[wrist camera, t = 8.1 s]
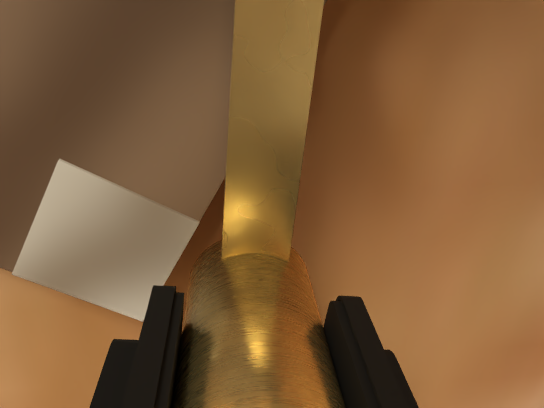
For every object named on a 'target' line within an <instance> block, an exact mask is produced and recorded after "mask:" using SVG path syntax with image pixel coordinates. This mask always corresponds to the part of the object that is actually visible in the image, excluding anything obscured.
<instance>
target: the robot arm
mask: <svg viewBox="0 0 544 408" xmlns="http://www.w3.org/2000/svg"><path fill="white" fill-rule="evenodd" d="M183 304H184V293H177V292H176V286H158V285H153V288H152V291H151V295H150V299H149V303H148V307H147V311H146V314H145V318H144V322H143V326H142V330H141V334H140V338H139V340H122V339H114V340H113V341H112V343H111V345H110V348H109V351H108V354H107V357H106V360H105V363H104V366H103V369H102V372H101V375H100V378H99V381H98V384H97V387H96V390H95V393H94V396H93V399H92V402H91V405H90V408H172V403H173V396H174V388H175V381H176V374H177V366H178V359H179V352H180V344H181V337H182V321H183ZM323 329H324V332H325V336H326V340H327V343H328V347H329V350H330V354H331V358H332V361H333V365H334V368H335V372H336V375H337V379H338V383H339V386H340V390H341V393H342V397H343V401H344V404H345V408H419V407H418V405H417V403H416V401H415V398H414V396H413V394H412V392H411V390H410V387H409V385H408V383H407V381H406V379H405V376H404V374H403V372H402V370H401V368H400V365H399V363H398V361H397V359H396V357H395V355H394V354H393V352H392V351H390V350H384V349H383V347H382V344H381V342H380V340H379V337H378V335H377V333H376V330H375V328H374V326H373V323H372V321H371V319H370V316H369V314H368V312H367V309H366V307H365V305H364V302H363V300H362V298H361V297H355V296H338V297H337V299H336V301H330V303H329V307H328V311H327V315H326V319H325V323H324V327H323Z"/></svg>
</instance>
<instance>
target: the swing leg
mask: <svg viewBox="0 0 544 408" xmlns="http://www.w3.org/2000/svg"><path fill="white" fill-rule="evenodd" d="M323 5H324V0H235V6H234V25H233V43H232V62H231V80H230V99H229V117H228V136H227V155H226V173H225V192H224V210H223V229H222V240H221V241H219V242H217V243H215V244H214V245H212V246H211V247H209V248H208V249H207V250H206V251H205V252H203V253H202V255H201V256H200V257H199V258H198V259H197V261H196V263H195V264H194V266H193V268H192V271H191V274H190V278H189V286H188V293H187V300H186V308H185V315H184V322H183V330H182V337H181V344H180V352H179V359H178V366H177V374H176V381H175V388H174V396H173V403H172V408H345V404H344V401H343V397H342V393H341V390H340V386H339V383H338V379H337V375H336V372H335V368H334V365H333V361H332V358H331V354H330V350H329V347H328V343H327V340H326V336H325V332H324V329H323V325H322V322H321V318H320V315H319V311H318V307H317V304H316V300H315V297H314V293H313V289H312V286H311V282H310V279H309V275H308V272H307V268H306V266H305V263H304V261H303V260H302V258H301V256H300V255H299V254H298V253H297V252H296V251H295V250H294V249H293V248H292V247H291V242H292V235H293V227H294V220H295V212H296V205H297V198H298V190H299V183H300V175H301V168H302V161H303V153H304V146H305V138H306V131H307V124H308V116H309V109H310V101H311V94H312V87H313V79H314V72H315V64H316V57H317V50H318V42H319V35H320V27H321V20H322V13H323Z"/></svg>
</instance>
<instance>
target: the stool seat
mask: <svg viewBox="0 0 544 408" xmlns="http://www.w3.org/2000/svg"><path fill="white" fill-rule="evenodd" d="M326 1H327V0H324V5H325V3H326ZM324 5H323V6H324ZM234 6H235V0H0V268H2V269H5V270H8V271H11V272H12V275H15V276H17V277H20V278H23V279H26V280H29V281H31V282H34V283H37V284H40V285H42V286H45V287H48V288H51V289H54V290H56V291H59V292H62V293H65V294H67V295H70V296H73V297H76V298H78V299H81V300H84V301H87V302H90V303H92V304H95V305H98V306H101V307H103V308H106V309H109V310H112V311H115V312H117V313H120V314H123V315H126V316H128V317H131V318H134V319H137V320H139V321H142V322H143V320H144V318H145V314H146V311H147V307H148V303H149V299H150V295H151V291H152V288H153V285H158V286H163V285H164V284H165V282H166V280H167V278H168V277H169V275H170V273H171V272H172V270H173V268H174V266H175V265H176V263H177V261H178V259H179V258H180V256H181V254H182V252H183V251H184V249H185V247H186V246H187V244H188V242H189V240H190V239H191V237H192V235H193V233H194V232H195V230H196V228H197V226H198V225H199V222H200V220H201V218H202V216H203V215H204V213H205V211H206V209H207V208H208V206H209V204H210V203H211V201H212V199H213V197H214V196H215V194H216V192H217V190H218V189H219V187H220V185H221V183H222V182H223V180H224V178H225V173H226V155H227V136H228V117H229V99H230V80H231V62H232V43H233V25H234Z"/></svg>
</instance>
